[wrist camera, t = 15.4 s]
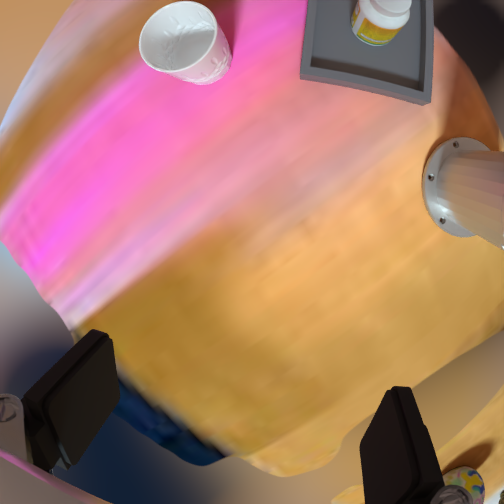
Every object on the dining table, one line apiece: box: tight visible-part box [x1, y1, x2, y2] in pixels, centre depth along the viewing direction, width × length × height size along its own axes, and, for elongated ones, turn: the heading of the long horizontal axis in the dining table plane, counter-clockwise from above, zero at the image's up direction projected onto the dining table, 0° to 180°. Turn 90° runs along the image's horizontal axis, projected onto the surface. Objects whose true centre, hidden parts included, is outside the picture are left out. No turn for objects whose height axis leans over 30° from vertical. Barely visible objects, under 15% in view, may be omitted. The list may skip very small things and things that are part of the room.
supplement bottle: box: [351, 0, 412, 46], centre depth 25 cm, size 5×5×10 cm
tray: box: [300, 0, 434, 106], centre depth 29 cm, size 15×17×3 cm
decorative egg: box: [443, 466, 485, 504], centre depth 43 cm, size 12×12×15 cm
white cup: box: [139, 1, 232, 85], centre depth 29 cm, size 8×8×10 cm
